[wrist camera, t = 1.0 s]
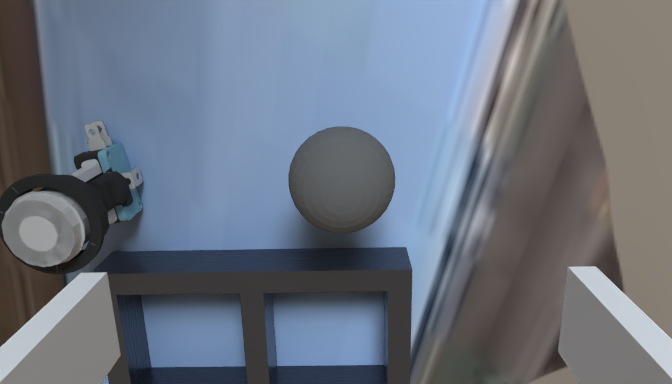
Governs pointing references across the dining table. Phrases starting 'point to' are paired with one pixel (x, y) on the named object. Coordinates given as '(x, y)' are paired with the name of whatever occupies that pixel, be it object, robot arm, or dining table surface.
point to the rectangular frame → (259, 308)
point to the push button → (70, 207)
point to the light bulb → (341, 179)
